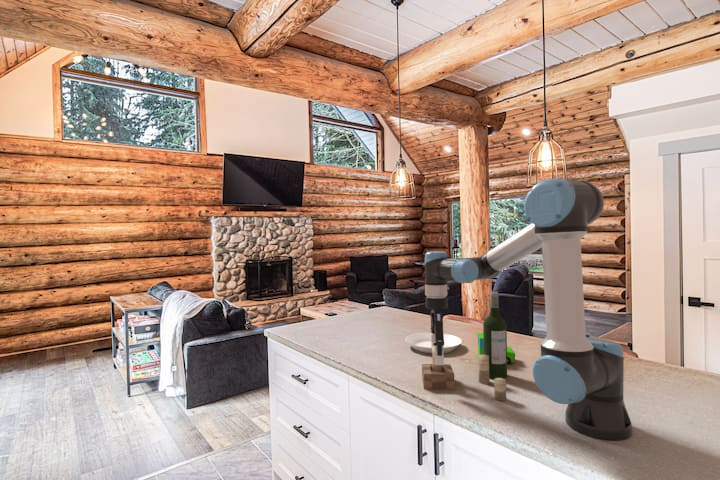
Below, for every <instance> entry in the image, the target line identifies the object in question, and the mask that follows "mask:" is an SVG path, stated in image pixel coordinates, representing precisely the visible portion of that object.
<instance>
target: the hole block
mask: <svg viewBox="0 0 720 480" xmlns="http://www.w3.org/2000/svg"><path fill="white" fill-rule="evenodd" d="M421 379H422V380H421V381H422V384H423V385H422V386H423V389H424V390H455V388H456V387H455V382H456V381H455V372H454V370H453V368H452V365H451V363H444V365H443V371H433V369H432V363H421Z"/></svg>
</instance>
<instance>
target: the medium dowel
mask: <svg viewBox="0 0 720 480" xmlns="http://www.w3.org/2000/svg"><path fill="white" fill-rule="evenodd" d="M478 383H480V384H483V385H487V384H489V383H490V378H489V356H488V355H478Z"/></svg>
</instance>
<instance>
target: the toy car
mask: <svg viewBox="0 0 720 480" xmlns="http://www.w3.org/2000/svg"><path fill="white" fill-rule="evenodd" d="M477 350H478V351H477V356H479V355H484V336H483V333H481V332H478V333H477ZM515 361H516V353H515V351H514V350H513V348H512V347H511V346H507V366H508V365H509V364H511V363H515Z"/></svg>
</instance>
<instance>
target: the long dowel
mask: <svg viewBox="0 0 720 480" xmlns="http://www.w3.org/2000/svg"><path fill="white" fill-rule="evenodd" d="M433 343H435V342H432V353H431V356H432V357H431V359H432V360H431V361H432V363H431V364H432V369H433V371H443V365H435V346H433Z"/></svg>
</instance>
